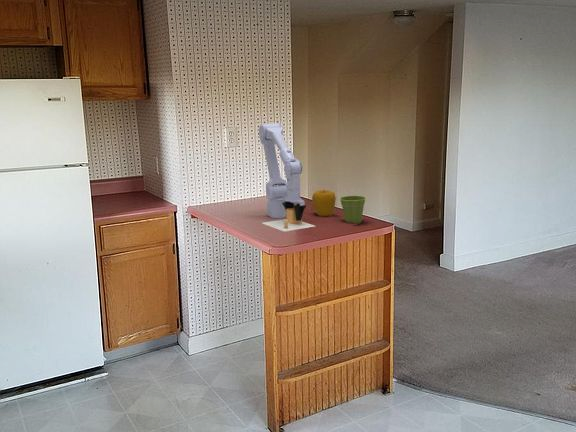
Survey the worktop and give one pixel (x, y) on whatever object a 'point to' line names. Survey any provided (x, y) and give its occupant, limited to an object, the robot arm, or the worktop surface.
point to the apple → (324, 202)
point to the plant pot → (353, 208)
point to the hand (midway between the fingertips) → (294, 219)
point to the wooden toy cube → (292, 216)
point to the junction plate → (290, 227)
